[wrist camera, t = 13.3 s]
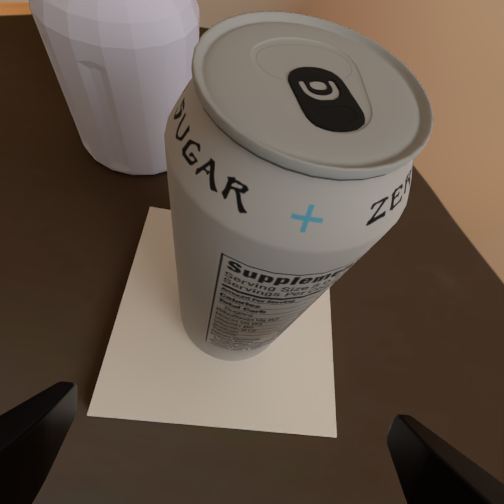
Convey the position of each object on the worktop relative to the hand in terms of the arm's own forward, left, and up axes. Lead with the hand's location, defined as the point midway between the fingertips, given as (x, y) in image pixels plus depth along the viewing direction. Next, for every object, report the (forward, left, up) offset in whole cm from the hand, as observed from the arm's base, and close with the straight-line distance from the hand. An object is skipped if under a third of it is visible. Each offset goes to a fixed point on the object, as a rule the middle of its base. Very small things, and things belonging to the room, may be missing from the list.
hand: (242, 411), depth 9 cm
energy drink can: (+4, +4, -9) cm, 11 cm away
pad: (+5, +4, -10) cm, 11 cm away
